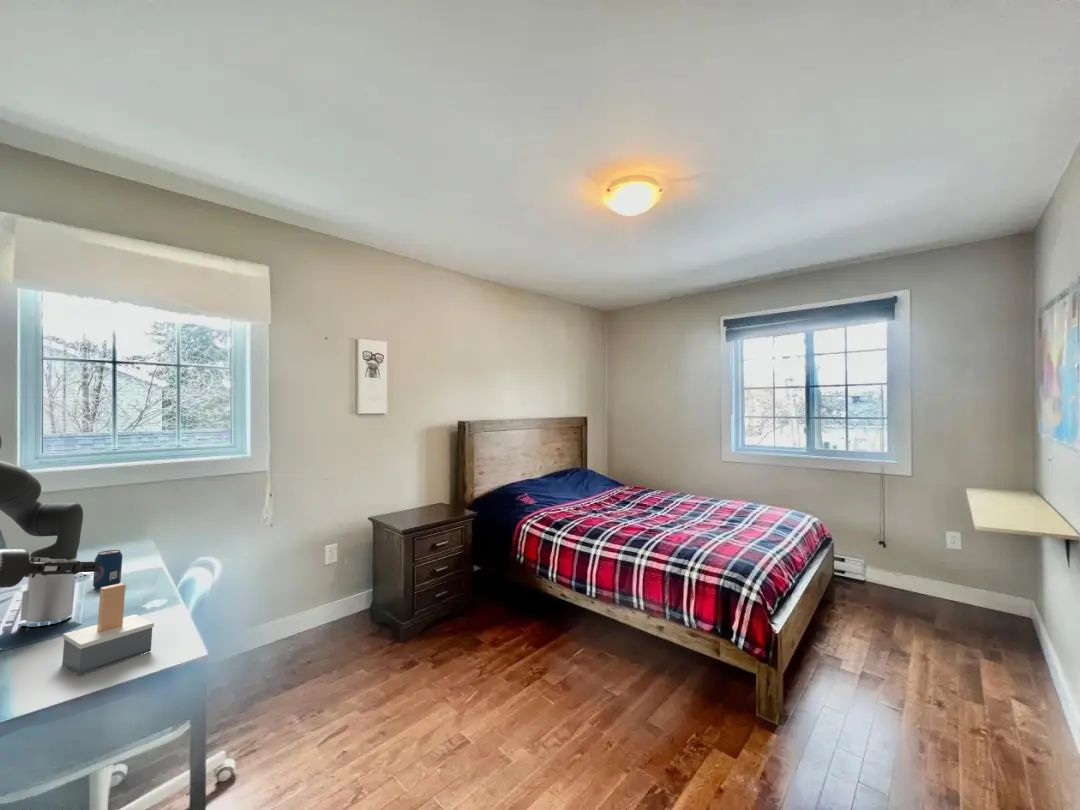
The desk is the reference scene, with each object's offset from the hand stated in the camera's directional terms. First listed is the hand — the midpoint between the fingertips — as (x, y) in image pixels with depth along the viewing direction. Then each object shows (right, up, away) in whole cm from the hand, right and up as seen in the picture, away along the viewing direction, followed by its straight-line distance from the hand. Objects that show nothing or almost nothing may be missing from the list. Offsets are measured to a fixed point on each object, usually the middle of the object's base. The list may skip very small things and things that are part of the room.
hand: (86, 566), depth 105 cm
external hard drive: (-66, -27, +65) cm, 96 cm away
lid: (+1, -19, +4) cm, 19 cm away
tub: (+1, -24, +4) cm, 24 cm away
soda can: (-45, -26, +51) cm, 73 cm away
